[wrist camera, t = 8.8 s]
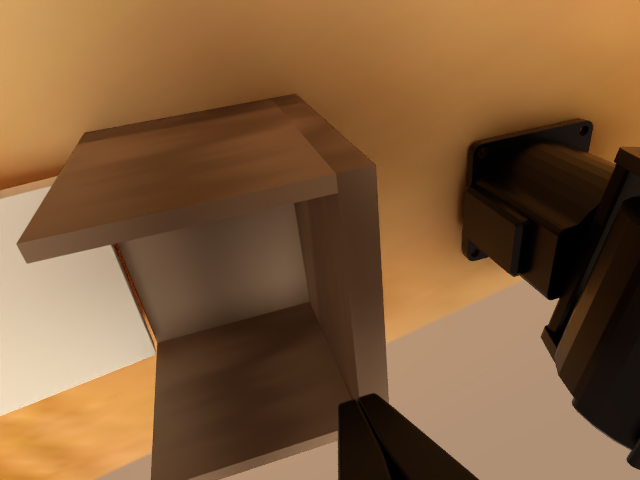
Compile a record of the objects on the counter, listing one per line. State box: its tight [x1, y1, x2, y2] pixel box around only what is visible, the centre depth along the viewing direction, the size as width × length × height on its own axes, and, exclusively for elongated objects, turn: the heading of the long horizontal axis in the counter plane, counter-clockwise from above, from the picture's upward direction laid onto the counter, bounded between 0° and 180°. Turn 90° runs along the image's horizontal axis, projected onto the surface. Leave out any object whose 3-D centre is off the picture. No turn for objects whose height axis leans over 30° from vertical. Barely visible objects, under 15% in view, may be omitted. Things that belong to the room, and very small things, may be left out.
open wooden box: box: [16, 94, 389, 480], centre depth 16 cm, size 8×10×8 cm
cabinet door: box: [0, 176, 156, 416], centre depth 16 cm, size 1×8×7 cm
